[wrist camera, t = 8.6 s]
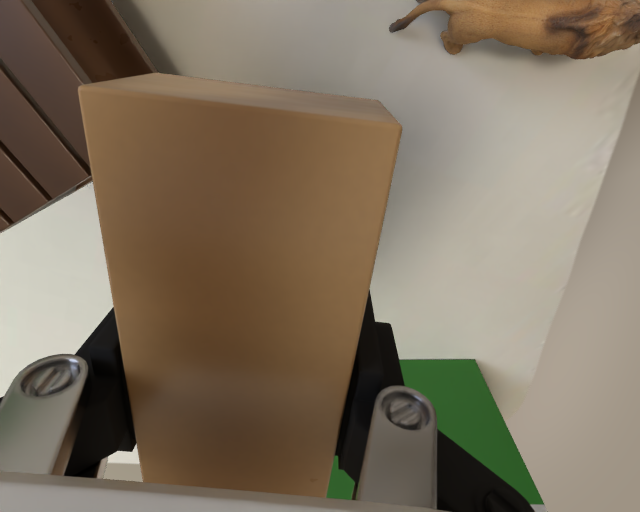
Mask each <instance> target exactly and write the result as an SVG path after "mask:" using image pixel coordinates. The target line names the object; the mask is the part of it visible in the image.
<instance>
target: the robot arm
mask: <svg viewBox="0 0 640 512" xmlns="http://www.w3.org/2000/svg"><path fill="white" fill-rule="evenodd" d="M135 445H136V437H135V431H134V425H133V419H132V413H131V407H130V401H129V395H128V389H127V383H126V377H125V371H124V365H123V359H122V353H121V347H120V341H119V335H118V329H117V323H116V317H115V311H114V307H113V308H112V309H111V311H110V312H109V313H108V314H107V316H106V317H105V318H104V319H103V320H102V322H101V323H100V324H99V325H98V327H97V328H96V329H95V330H94V332H93V333H92V334H91V335H90V336H89V338H88V339H87V340H86V341H85V343H84V344H83V345H82V346H81V348H80V349H79V350H78V351H77V352H76V354H75V355H73V354H58V355H52V356H48V357H45V358H42V359H39V360H37V361H35V362H33V363H31V364H30V365H28V366H27V367H25V368H24V369H23V370H22V371H20V372H19V373H18V375H17V376H16V377H15V379H14V380H13V382H12V383H11V385H10V387H9V389H8V390H7V392H6V394H5V396H3V397H1V398H0V512H535V511H534V509H533V508H532V506H531V505H530V504H529V502H528V501H527V500H526V499H525V498H524V497H523V496H522V495H521V494H520V493H519V492H518V491H517V490H516V489H514V488H513V487H512V486H511V485H509V484H508V483H507V482H505V481H504V480H503V479H502V478H500V477H499V476H498V475H496V474H495V473H494V472H492V471H491V470H490V469H489V468H487V467H486V466H485V465H483V464H482V463H481V462H480V461H478V460H477V459H476V458H474V457H473V456H472V455H471V454H469V453H468V452H467V451H465V450H464V449H463V448H462V447H460V446H459V445H458V444H456V443H455V442H454V441H453V440H451V439H450V438H449V437H447V436H446V435H445V434H444V433H442V432H441V431H440V430H438V429H437V415H436V410H435V408H434V407H433V405H432V403H431V402H430V401H429V400H428V399H427V398H426V397H425V396H424V395H423V394H421V393H420V392H418V391H417V390H414V389H412V388H409V387H405V384H404V380H403V375H402V371H401V366H400V362H399V358H398V353H397V349H396V344H395V340H394V336H393V331H392V327H391V325H390V324H389V323H382V322H375V319H374V313H373V307H372V301H371V295H370V289H369V293H368V298H367V303H366V307H365V312H364V317H363V322H362V327H361V332H360V336H359V341H358V346H357V351H356V356H355V360H354V365H353V370H352V375H351V380H350V385H349V389H348V394H347V399H346V404H345V409H344V413H343V418H342V423H341V428H340V433H339V438H338V442H337V447H336V452H335V456H338V470H344V471H345V472H346V473H347V474H348V475H349V476H350V478H351V479H352V480H353V481H354V486H353V491H352V496H351V500H345V499H334V498H322V497H311V496H300V495H289V494H277V493H266V492H255V491H243V490H231V489H219V488H207V487H195V486H183V485H171V484H159V483H147V482H135V481H122V480H110V479H103V478H104V474H105V470H106V466H107V462H108V456H109V455H111V454H113V453H115V452H117V451H128V452H132V451H133V449H134V447H135Z"/></svg>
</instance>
